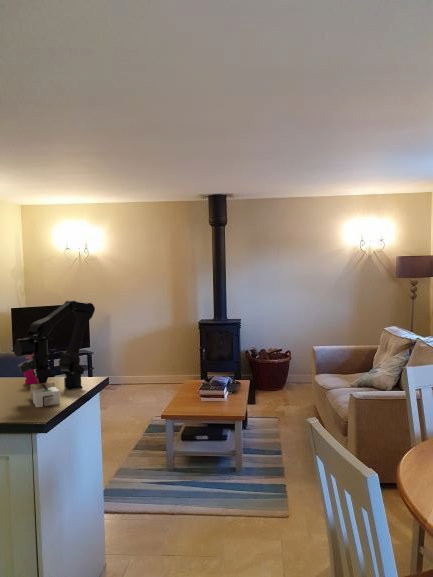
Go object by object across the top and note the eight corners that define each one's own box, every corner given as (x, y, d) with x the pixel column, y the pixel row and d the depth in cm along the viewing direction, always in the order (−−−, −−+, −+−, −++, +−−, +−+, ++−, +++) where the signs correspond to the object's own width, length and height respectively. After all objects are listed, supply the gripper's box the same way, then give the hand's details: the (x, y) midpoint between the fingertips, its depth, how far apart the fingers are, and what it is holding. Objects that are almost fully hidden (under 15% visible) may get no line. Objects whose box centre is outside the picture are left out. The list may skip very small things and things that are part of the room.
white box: (54, 395, 176) (53, 381, 176) (62, 404, 163) (61, 389, 163) (31, 399, 171) (30, 384, 171) (37, 408, 158) (36, 392, 158)
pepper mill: (44, 381, 203) (42, 339, 203) (32, 385, 196) (31, 342, 196) (32, 380, 205) (30, 339, 205) (20, 384, 199) (19, 341, 198)
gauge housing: (55, 398, 172) (55, 386, 172) (59, 403, 165) (59, 390, 165) (33, 402, 168) (32, 389, 167) (36, 407, 161) (35, 394, 161)
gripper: (16, 351, 179) (17, 388, 179) (22, 358, 163) (23, 398, 163) (44, 348, 185) (45, 384, 185) (52, 354, 169) (53, 393, 169)
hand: (41, 389), depth 175 cm, fingers closed
